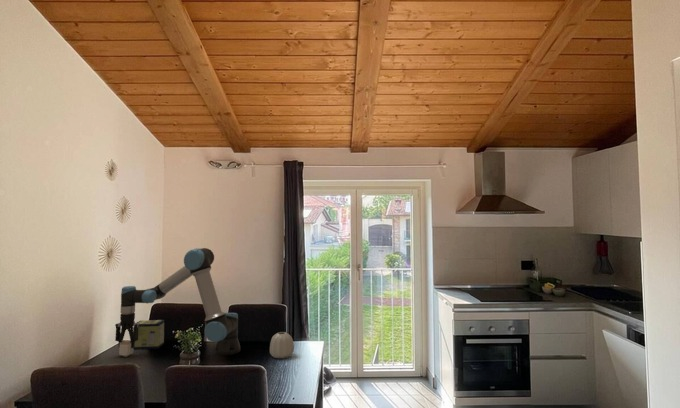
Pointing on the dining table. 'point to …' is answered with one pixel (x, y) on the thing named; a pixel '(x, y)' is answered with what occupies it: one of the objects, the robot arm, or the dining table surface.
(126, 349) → the beige faceted cup
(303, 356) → the dining table surface
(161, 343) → the protein box
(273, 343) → the vase
